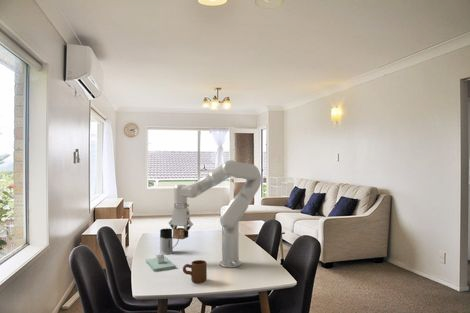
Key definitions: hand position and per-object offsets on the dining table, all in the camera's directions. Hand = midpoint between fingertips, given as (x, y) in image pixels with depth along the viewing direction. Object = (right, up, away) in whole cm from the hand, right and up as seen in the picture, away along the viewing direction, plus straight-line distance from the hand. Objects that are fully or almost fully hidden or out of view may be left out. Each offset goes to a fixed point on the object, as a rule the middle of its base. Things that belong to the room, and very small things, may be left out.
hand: (180, 236), depth 204 cm
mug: (+12, -16, -30) cm, 36 cm away
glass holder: (-11, -16, +22) cm, 30 cm away
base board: (-11, -16, -3) cm, 20 cm away
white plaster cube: (-11, -14, -3) cm, 18 cm away
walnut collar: (0, -1, 0) cm, 1 cm away
